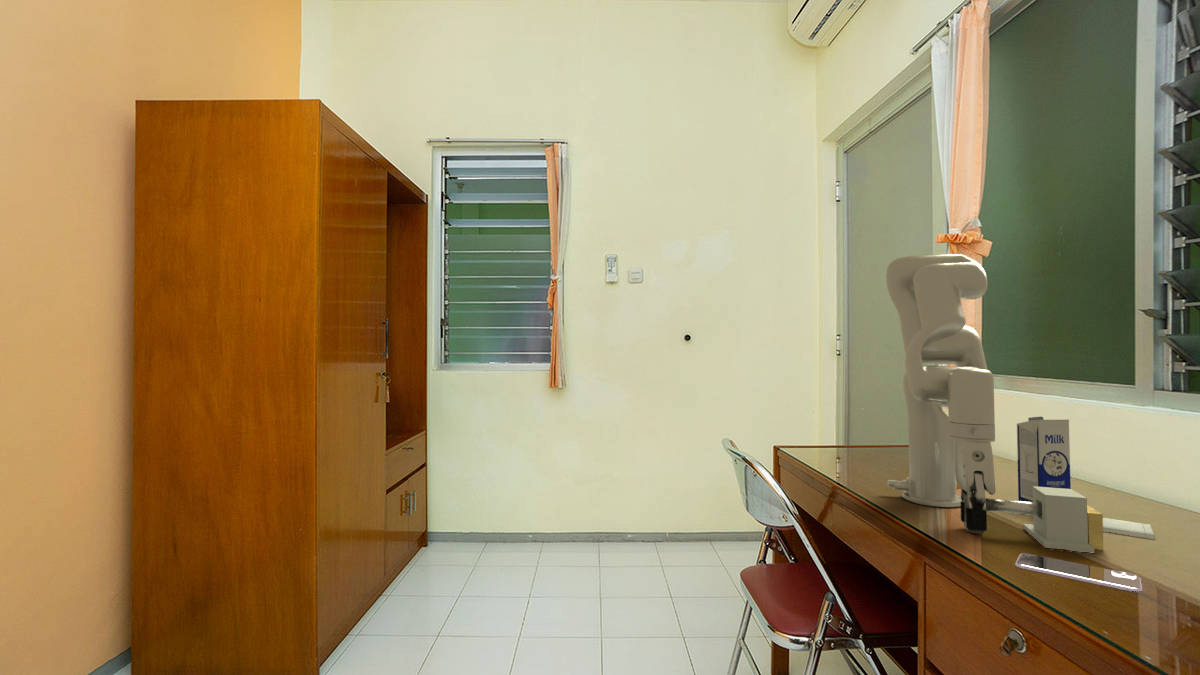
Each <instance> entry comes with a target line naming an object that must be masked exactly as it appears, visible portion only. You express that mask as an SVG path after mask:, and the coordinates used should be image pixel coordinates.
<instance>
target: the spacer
mask: <svg viewBox="0 0 1200 675" xmlns="http://www.w3.org/2000/svg"><path fill="white" fill-rule="evenodd" d="M1087 518H1088V544H1090V545H1091V546H1092V547H1094V549H1100V550H1099V551H1103V550H1104V532H1103V518H1104V515H1103V513H1102V512H1100V511H1098V510H1097V509H1095V508H1093V507H1092V506H1089V505H1088V504H1087Z"/></svg>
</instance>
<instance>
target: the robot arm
mask: <svg viewBox="0 0 1200 675" xmlns="http://www.w3.org/2000/svg"><path fill="white" fill-rule="evenodd" d="M987 277H988V276H987V273H986V271H985V269H984V268H983V267H982V265H981V264H980V263H979V262H977V261H976V260H974V259H972V258H971V257H968V256H966V255H964V254H959V253H950V254H949V253H946V254H925V255H924V254H923V255H922V254H921V255H918V254H917V255H907V256H901V257H899V258H896V259H894V260H892V261H891V262H890V263H889V264H888V266H887V269H886V276H885V279H886V287H887V291H888V295H889V296H890V299H891V301H892V303H893V306H894V307H895V309H896V310H897V314H898V316H899V322H900V328H901V336H902V340H903V341H902V342H903V347H904V351H905V358H904V360H905V361H904V364H905V372H906V373H905V374H904V376H903V379H902V381H903V382H902V387H903V391H904V392H903V393H904V396H905V403H906V408H907V419H908V420H907V421H908V422H907V423H908V427H907V428H908V430H907V431H908V461H909V462H908V466H909V468H908V469H909V476H906V479H902V480H896V479H887V488H889V489H894V490H898V491H899V490H900V491H902V490H903V491H902V493H901V495H902V498H903V499H904V500H906V501H908V502H911V503H913V504H918V505H924V506H928V507H937V508H938V507H939V508H957V507H960V521H961V522H962V523H964V510H963V492H967V501H968V508H966V527H967V529H969V530H979V531H984V532H987V531H988V530H987V529H988V521H987V520H988V519H987V518H988V516H987V513H988V512H987V511H986V499H985V498H986V492H987V493H988V494H989V495H991V496H992V495H993V496H994V495H995V494H996V482H995V481H996V480H995V479H996V478H995V465H994V456H993V448H992V442H996V422H995V416H996V415H995V380H994V378H995V377H994V374H993V373H992V371H991V370H989V369H988V366H987V362H986V356H985V353H984V348H983V343H982V340H981V338H980V335H979V333H978V332H977V330H975V328H973V327H971V326H969V325H966V317H965V313H964V308H963V304H962V301H961V300H963V301H964V300H977V299H980V298H982V297H983V296H984V295H985V294H986V292H987V290H988V278H987ZM937 365H938V366H937ZM948 365H951V366H948ZM943 408H948V411H947V412H948V414H946V412H945V411H944V410H943ZM957 485H958V486H959V487H960V495H959V494H957V493H958V491H957ZM972 495H974V496H975V497H973V498H972Z"/></svg>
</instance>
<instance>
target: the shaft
mask: <svg viewBox="0 0 1200 675" xmlns="http://www.w3.org/2000/svg"><path fill="white" fill-rule="evenodd" d="M973 497H975V496H974V495H972V498H973ZM985 499H986V512H992V513H1003V514H1005V513H1006V514H1016V515H1027V516H1033V515H1036V516H1042V503H1038V502H1026V501H1019V500H1013V499H1000V498H990V497H989V498H987V497H985ZM966 508H968V501H967V492H963V510H964V522H963V527H964V528H965V530H966V531H967V532H968V533H973V534H982V535H983V534H985V531H979V530H969V529H967V527H966Z"/></svg>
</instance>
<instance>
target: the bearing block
mask: <svg viewBox="0 0 1200 675" xmlns="http://www.w3.org/2000/svg"><path fill="white" fill-rule="evenodd" d="M1032 488H1033V502H1038V503H1042V516H1036V515H1032V517H1033V518H1032V520H1033V521H1032V522H1033V523H1032V524H1031V523H1023V524H1022V529H1023V528H1024V529H1025V530H1026V531H1027V532H1028V533H1029V534H1028V533H1027V532H1026V531H1025V530H1024V529H1023V530H1024V531H1025V532H1026V533H1027V534H1028V535H1030V534H1031V535H1032V536H1033V537H1034V538H1035V539H1036V540H1037V541H1038V542H1039V543H1041V544H1042V545H1043V546H1044V547H1046V548H1057V549H1067V550H1074V551H1084V552H1093V553H1095V550H1094V547H1092V546H1091V545H1090V544H1088V518H1087V505H1088V498H1087V497H1086V496H1084V495H1082V494H1081V493H1079V492H1077V491H1075V490H1074V489H1072V488H1071V489H1064V488H1050V487H1036V486H1032ZM1031 535H1030V536H1031ZM1032 536H1031V537H1032ZM1033 537H1032V538H1033ZM1034 538H1033V539H1034ZM1035 539H1034V540H1035ZM1036 540H1035V541H1036ZM1037 541H1036V542H1037ZM1038 542H1037V543H1038ZM1039 543H1038V544H1039ZM1043 546H1042V547H1043ZM1044 547H1043V548H1044Z"/></svg>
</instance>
